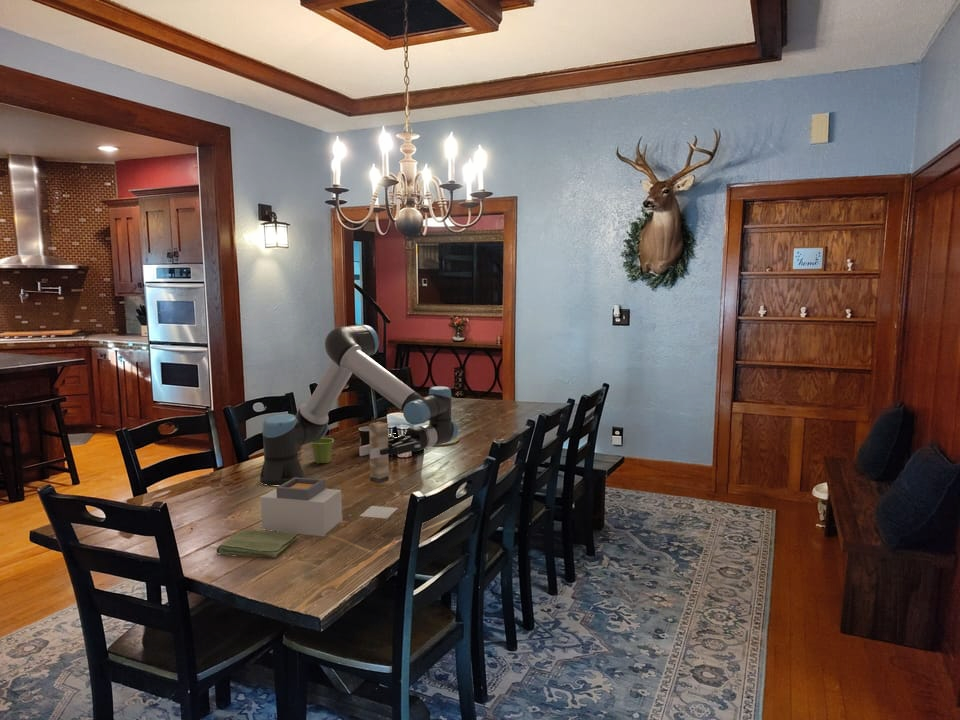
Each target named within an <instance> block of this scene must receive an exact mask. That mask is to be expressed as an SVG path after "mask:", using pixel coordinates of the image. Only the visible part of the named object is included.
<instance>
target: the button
mask: <svg viewBox="0 0 960 720" xmlns="http://www.w3.org/2000/svg"><path fill="white" fill-rule="evenodd" d="M312 485H314V484H304V483H297V484H295V485H293V486H291V487H290V488H301V489H307V488H309V487H310V486H312Z"/></svg>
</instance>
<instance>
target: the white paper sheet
mask: <svg viewBox="0 0 960 720" xmlns="http://www.w3.org/2000/svg"><path fill="white" fill-rule="evenodd" d="M398 509H399V508H398V507H388V506H379V505H370V506H369V507H368V508H367V509H366V510H365V511H364V512H363V513H361V514H360V515H359V517H367V518H377V519H387V520H388V519H389V518H390V516H392V515H393V514H394V513H395V512H396V511H397V510H398Z"/></svg>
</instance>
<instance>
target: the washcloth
mask: <svg viewBox="0 0 960 720" xmlns="http://www.w3.org/2000/svg"><path fill="white" fill-rule="evenodd" d="M296 539H297V534H294V533H285V532H275V531H263V530H261V531H260V530H250V529H249V530H248V529H244V530H240V531H237V532H236V533H234V535H233V536H231V537H230V538H229V539H227V540H226V541H224V542H222V543H220V544H219V545H218V546H217V548H216V554H218V553H220V554H221V555H220V556H226V555H236V556H235V557H239V556H253V558H269V559H276V558H277V557H278V555H280V554H281V553H282V551H284V550H286V549H287V548H288V547H289V546H291V544H292V543H293V542H294V541H295V540H296Z"/></svg>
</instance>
